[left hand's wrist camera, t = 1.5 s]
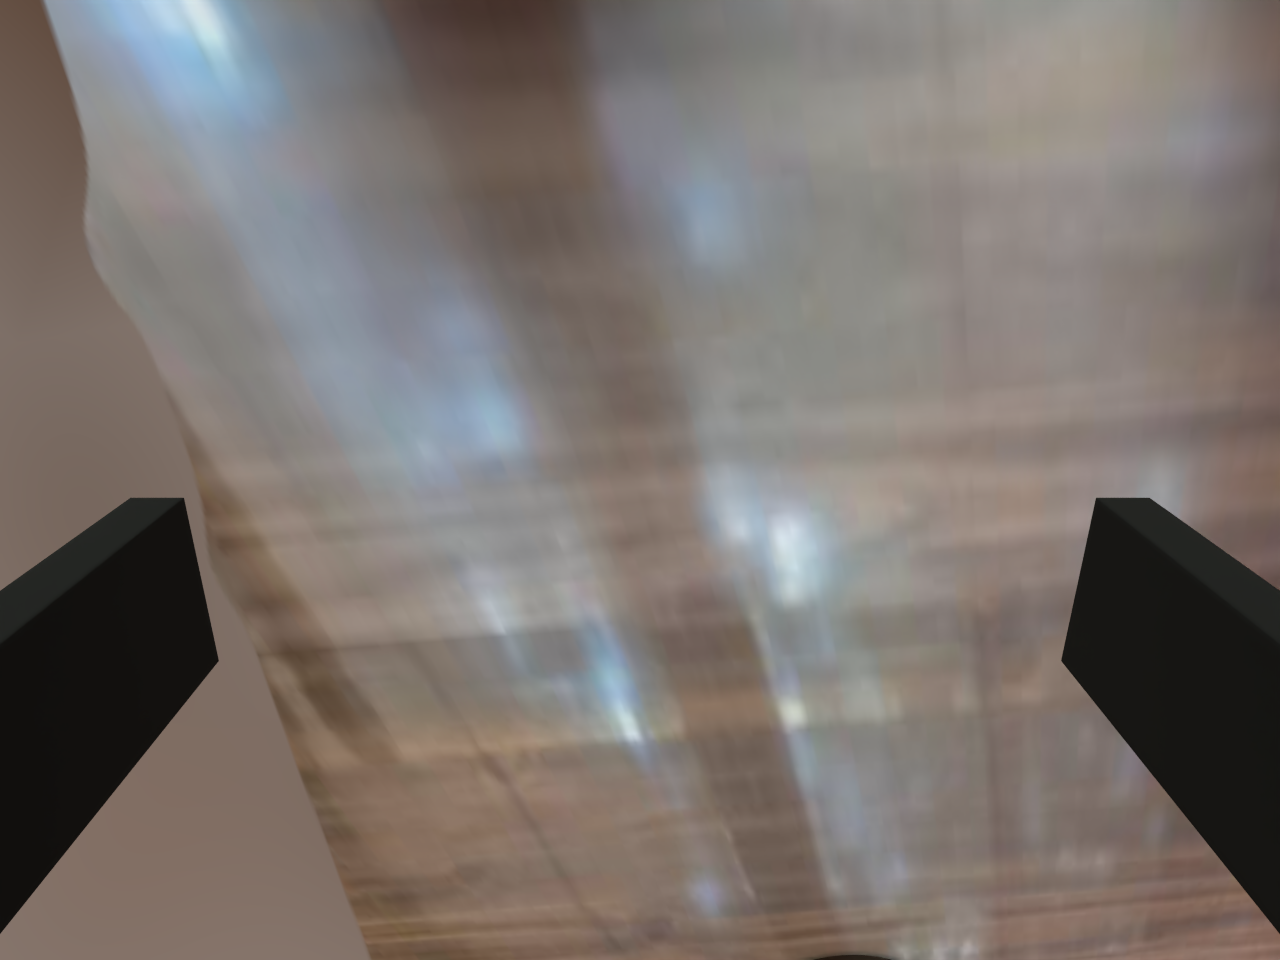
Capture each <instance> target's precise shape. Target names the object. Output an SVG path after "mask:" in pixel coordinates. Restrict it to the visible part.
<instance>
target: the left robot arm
mask: <svg viewBox="0 0 1280 960" xmlns="http://www.w3.org/2000/svg"><path fill="white" fill-rule="evenodd" d="M218 661H219V660H218V655H217V651H216V646H215V641H214V636H213V632H212V627H211V622H210V618H209V613H208V609H207V604H206V599H205V594H204V590H203V585H202V580H201V576H200V571H199V566H198V562H197V557H196V553H195V548H194V543H193V538H192V534H191V529H190V524H189V520H188V515H187V511H186V506H185V501H184V498H130V499H128V500H127V501H126V502H124V503H123V504H121V505H120V506H119V507H117V508H116V509H114V510H113V511H112V512H110V513H109V514H107V515H106V516H105V517H103V518H102V519H100V520H99V521H98V522H96V523H95V524H93V525H92V526H90V527H89V528H88V529H86V530H85V531H83V532H82V533H81V534H79V535H78V536H77V537H75V538H74V539H72V540H71V541H70V542H68V543H67V544H65V545H64V546H62V547H61V548H60V549H58V550H57V551H55V552H54V553H53V554H51V555H50V556H48V557H47V558H46V559H44V560H43V561H41V562H40V563H39V564H37V565H36V566H34V567H33V568H32V569H30V570H29V571H27V572H26V573H25V574H23V575H22V576H20V577H19V578H18V579H16V580H15V581H13V582H12V583H11V584H9V585H8V586H6V587H5V588H4V589H2V590H1V591H0V933H1V932H2V931H3V930H4V928H5V927H6V926H7V925H8V923H9V922H10V921H11V920H12V918H13V917H14V916H15V915H16V913H17V912H18V911H19V910H20V908H21V907H22V906H23V905H24V903H25V902H26V901H27V900H28V898H29V897H30V896H31V895H32V893H33V892H34V891H35V890H36V888H37V887H38V886H39V885H40V883H41V882H42V881H43V880H44V878H45V877H46V876H47V875H48V873H49V872H50V871H51V870H52V868H53V867H54V866H55V865H56V863H57V862H58V861H59V860H60V858H61V857H62V856H63V855H64V853H65V852H66V851H67V850H68V848H69V847H70V846H71V845H72V843H73V842H74V841H75V840H76V838H77V837H78V836H79V835H80V833H81V832H82V831H83V830H84V828H85V827H86V826H87V825H88V823H89V822H90V821H91V820H92V818H93V817H94V816H95V815H96V813H97V812H98V811H99V810H100V808H101V807H102V806H103V805H104V803H105V802H106V801H107V800H108V798H109V797H110V796H111V795H112V793H113V792H114V791H115V790H116V788H117V787H118V786H119V785H120V783H121V782H122V781H123V780H124V778H125V777H126V776H127V775H128V773H129V772H130V771H131V770H132V768H133V767H134V766H135V765H136V763H137V762H138V761H139V760H140V758H141V757H142V756H143V755H144V753H145V752H146V751H147V750H148V749H149V747H150V746H151V745H152V743H153V742H154V741H155V740H156V739H157V737H158V736H159V735H160V734H161V732H162V731H163V730H164V729H165V727H166V726H167V725H168V724H169V722H170V721H171V720H172V719H173V717H174V716H175V715H176V714H177V712H178V711H179V710H180V709H181V707H182V706H183V705H184V704H185V702H186V701H187V700H188V699H189V697H190V696H191V695H192V693H193V692H194V691H195V690H196V689H197V687H198V686H199V685H200V684H201V682H202V681H203V680H204V679H205V677H206V676H207V675H208V674H209V672H210V671H211V670H212V669H213V667H214V666H215V665H216V664H217V662H218ZM1061 661H1062V662H1063V664H1064V665H1065V666H1066V667H1067V669H1068V670H1069V671H1070V672H1071V674H1072V675H1073V676H1074V677H1075V679H1076V680H1077V681H1078V682H1079V684H1080V685H1081V686H1082V687H1083V689H1084V690H1085V691H1086V692H1087V694H1088V695H1089V696H1090V697H1091V699H1092V700H1093V701H1094V702H1095V704H1096V705H1097V706H1098V707H1099V709H1100V710H1101V711H1102V712H1103V714H1104V715H1105V716H1106V717H1107V719H1108V720H1109V721H1110V722H1111V724H1112V725H1113V726H1114V727H1115V729H1116V730H1117V731H1118V732H1119V734H1120V735H1121V736H1122V737H1123V739H1124V740H1125V741H1126V742H1127V744H1128V745H1129V746H1130V747H1131V749H1132V750H1133V751H1134V752H1135V754H1136V755H1137V756H1138V757H1139V759H1140V760H1141V761H1142V762H1143V764H1144V765H1145V766H1146V767H1147V768H1148V770H1149V771H1150V772H1151V773H1152V775H1153V776H1154V777H1155V778H1156V780H1157V781H1158V782H1159V783H1160V785H1161V786H1162V787H1163V788H1164V790H1165V791H1166V792H1167V793H1168V795H1169V796H1170V797H1171V798H1172V800H1173V801H1174V802H1175V803H1176V805H1177V806H1178V807H1179V808H1180V810H1181V811H1182V812H1183V813H1184V815H1185V816H1186V817H1187V818H1188V820H1189V821H1190V822H1191V823H1192V825H1193V826H1194V827H1195V828H1196V830H1197V831H1198V832H1199V833H1200V835H1201V836H1202V837H1203V838H1204V840H1205V841H1206V842H1207V843H1208V845H1209V846H1210V847H1211V848H1212V850H1213V851H1214V852H1215V853H1216V855H1217V856H1218V857H1219V858H1220V860H1221V861H1222V862H1223V863H1224V865H1225V866H1226V867H1227V868H1228V870H1229V871H1230V872H1231V873H1232V875H1233V876H1234V877H1235V878H1236V880H1237V881H1238V882H1239V883H1240V885H1241V886H1242V887H1243V888H1244V890H1245V891H1246V892H1247V893H1248V895H1249V896H1250V897H1251V898H1252V900H1253V901H1254V902H1255V903H1256V905H1257V906H1258V907H1259V908H1260V910H1261V911H1262V912H1263V913H1264V915H1265V916H1266V917H1267V918H1268V920H1269V921H1270V922H1271V923H1272V925H1273V926H1274V927H1275V928H1276V930H1277V931H1278V932H1279V933H1280V591H1279V590H1278V589H1276V588H1275V587H1274V586H1272V585H1271V584H1269V583H1268V582H1267V581H1265V580H1264V579H1262V578H1261V577H1260V576H1258V575H1257V574H1255V573H1254V572H1253V571H1251V570H1250V569H1248V568H1247V567H1246V566H1244V565H1243V564H1241V563H1240V562H1239V561H1237V560H1236V559H1234V558H1233V557H1232V556H1230V555H1229V554H1227V553H1226V552H1225V551H1223V550H1222V549H1220V548H1219V547H1218V546H1216V545H1215V544H1213V543H1212V542H1211V541H1209V540H1208V539H1206V538H1205V537H1204V536H1202V535H1201V534H1199V533H1198V532H1197V531H1195V530H1194V529H1192V528H1191V527H1190V526H1188V525H1187V524H1185V523H1184V522H1182V521H1181V520H1180V519H1178V518H1177V517H1175V516H1174V515H1173V514H1171V513H1170V512H1168V511H1167V510H1166V509H1164V508H1163V507H1161V506H1160V505H1159V504H1157V503H1156V502H1154V501H1153V500H1152V499H1150V498H1096V501H1095V506H1094V510H1093V515H1092V520H1091V524H1090V529H1089V534H1088V538H1087V543H1086V548H1085V552H1084V557H1083V562H1082V566H1081V571H1080V576H1079V580H1078V585H1077V590H1076V594H1075V599H1074V604H1073V608H1072V613H1071V618H1070V622H1069V627H1068V632H1067V636H1066V641H1065V646H1064V650H1063V655H1062V660H1061ZM815 960H890V959H886V958H880V957H874V956H863V955H842V956H832V957H825V958H819V959H815Z"/></svg>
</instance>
